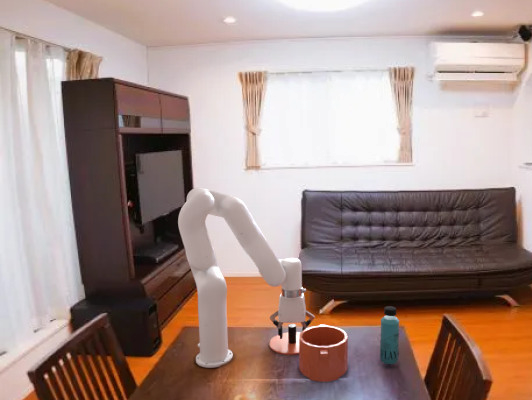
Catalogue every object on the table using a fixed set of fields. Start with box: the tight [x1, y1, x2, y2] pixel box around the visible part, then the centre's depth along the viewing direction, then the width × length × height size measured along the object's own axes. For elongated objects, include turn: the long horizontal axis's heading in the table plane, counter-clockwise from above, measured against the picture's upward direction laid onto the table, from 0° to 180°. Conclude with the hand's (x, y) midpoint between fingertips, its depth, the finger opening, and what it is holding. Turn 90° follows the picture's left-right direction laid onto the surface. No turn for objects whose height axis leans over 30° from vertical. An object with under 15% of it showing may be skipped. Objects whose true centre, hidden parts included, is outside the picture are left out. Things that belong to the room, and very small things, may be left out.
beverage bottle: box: [379, 305, 400, 365], centre depth 145 cm, size 6×7×20 cm
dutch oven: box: [298, 323, 349, 383], centre depth 143 cm, size 16×21×12 cm
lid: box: [268, 323, 302, 356], centre depth 160 cm, size 17×17×8 cm
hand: (292, 336), depth 160 cm, fingers open, 7 cm apart
